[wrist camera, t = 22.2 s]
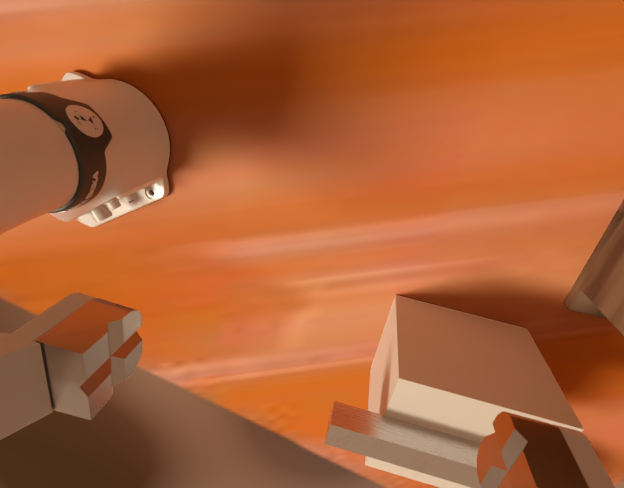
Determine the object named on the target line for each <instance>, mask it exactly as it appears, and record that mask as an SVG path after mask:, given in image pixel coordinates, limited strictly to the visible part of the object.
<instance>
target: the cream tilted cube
mask: <svg viewBox="0 0 624 488" xmlns="http://www.w3.org/2000/svg"><path fill="white" fill-rule="evenodd" d="M368 411H371V412H374V413H378V414H381V415H384V416H388V417H391V418H395V419H398V420H402V421H405V422H409V423H412V424H416V425H419V426H423V427H426V428H430V429H433V430H437V431H440V432H443V433H447V434H450V435H454V436H457V437H461V438H464V439H468V440H471V441H475V442H478V443H481V442H482V441H483V439H484V437H486V436H488V435H490V434H493V433H495V430H494V427H493V421H494V420H495V418H496V416H497V415H498V414H499V413H501V412H502V411H504V412H508V413H512V414H516V415H519V416H523V417H527V418H531V419H534V420H538V421H542V422H545V423H549V424H551V425H558V426H562V427H566V428H569V429H573V430H577V431H580V432H581V433H582V431H583V430H584V429H583V427H582V425H581V423H580V422H579V420H578V418H577V416H576V415H575V413H574V411H573V409H572V407H571V406H570V404H569V402H568V400H567V399H566V397H565V395H564V393H563V392H562V390H561V388H560V386H559V384H558V383H557V381H556V379H555V377H554V376H553V374H552V372H551V370H550V368H549V367H548V365H547V363H546V361H545V360H544V358H543V356H542V354H541V352H540V351H539V349H538V347H537V345H536V344H535V342H534V340H533V338H532V336H531V335H530V333H529V331H528V329H527V328H524V327H520V326H516V325H512V324H508V323H504V322H500V321H497V320H493V319H489V318H485V317H481V316H477V315H473V314H469V313H465V312H461V311H458V310H454V309H450V308H446V307H442V306H438V305H434V304H430V303H426V302H422V301H419V300H415V299H411V298H407V297H403V296H399V295H395V298H394V301H393V304H392V307H391V310H390V312H389V315H388V318H387V321H386V324H385V327H384V330H383V333H382V336H381V339H380V342H379V345H378V348H377V351H376V354H375V357H374V360H373V363H372V366H371V370H370V387H369V405H368ZM365 465H367V466H370V467H373V468H377V469H380V470H383V471H387V472H390V473H393V474H397V475H400V476H403V477H407V478H410V479H413V480H416V481H420V482H423V483H426V484H430V485H433V486H436V487H440V488H471V487H468V486H464V485H461V484H458V483H454V482H451V481H448V480H444V479H441V478H438V477H434V476H431V475H428V474H424V473H421V472H418V471H414V470H411V469H408V468H404V467H401V466H398V465H394V464H391V463H388V462H384V461H381V460H378V459H374V458H371V457H368V456H366V458H365Z"/></svg>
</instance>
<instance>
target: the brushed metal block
mask: <svg viewBox="0 0 624 488" xmlns="http://www.w3.org/2000/svg"><path fill="white" fill-rule="evenodd" d="M325 444H328V445H331V446H334V447H338V448H341V449H344V450H348V451H351V452H354V453H358V454H361V455H364V456H368V457H371V458H374V459H378V460H381V461H384V462H388V463H391V464H394V465H398V466H401V467H404V468H408V469H411V470H414V471H418V472H421V473H424V474H428V475H431V476H434V477H438V478H441V479H444V480H448V481H451V482H454V483H458V484H461V485H464V486H468V487H471V488H482V487H481V486H480V483H479V479H478V474H477V455H478V449H479V446H480V444H481V443H478V442H475V441H471V440H468V439H464V438H461V437H457V436H454V435H450V434H447V433H443V432H440V431H437V430H433V429H430V428H426V427H423V426H419V425H416V424H412V423H409V422H405V421H402V420H398V419H395V418H391V417H388V416H384V415H381V414H378V413H374V412H371V411H367V410H364V409H360V408H357V407H353V406H350V405H346V404H343V403H339V402H336V401H334V405H333V408H332V411H331V415H330V418H329V422H328V428H327V434H326V440H325Z"/></svg>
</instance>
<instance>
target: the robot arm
mask: <svg viewBox="0 0 624 488" xmlns="http://www.w3.org/2000/svg"><path fill="white" fill-rule="evenodd" d="M169 156H170V142H169V136H168V132H167V129H166V126H165V123H164V121H163V119H162V117H161V115H160V113H159V112H158V110H157V109H156V107H155V106H154V105H153V103H152V102H151V101H150V100H149V99H148V98H147V97H146V96H145V95H144V94H143V93H142V92H140V91H139V90H138V89H136V88H135V87H133V86H131V85H129V84H127V83H125V82H122V81H119V80H114V79H93V78H91V77H89V76H86V75H84V74H82V73H79V72H68V73H66V74H65V75H64V77H63V78H62V80H61V81H57V82H48V83H40V84H34V85H31V86H29V87H28V91H21V92H12V93H10V94H2V95H0V234H2V233H4V232H6V231H8V230H11V229H13V228H15V227H17V226H19V225H21V224H23V223H25V222H28V221H30V220H32V219H34V218H37V217H39V216H41V215H44V214H46V213H49V214H51V215H52V216H54V217H55V218H57V219H59V220H62V221H65V222H70V221H72V220H74V219H77V220H78V221H80V222H82V223H83V224H85V225H87V226H90V227H96V226H98V225H101V224H104V223H106V222H108V221H111V220H113V219H115V218H118V217H120V216H122V215H125V214H127V213H129V212H132V211H134V210H136V209H138V208H141V207H143V206H145V205H148V204H150V203H152V202H155V201H157V200H159V199H162V198H164V197H166V196H167V195H168V193H169V183H168V178H167V167H168V162H169ZM152 191H153V192H154V194H153V193H152ZM141 325H142V319H141V313H140V312H139V311H137V310H135V309H132V308H129V307H125V306H122V305H119V304H116V303H112V302H109V301H106V300H102V299H99V298H94V297H91V296H88V295H84V294H81V293H74V294H70V295H68V296H67V297H65V298H64V299H62V300H61V301H59V302H58V303H56V304H55V305H53V306H52V307H50V308H49V309H47V310H46V311H44V312H43V313H41V314H40V315H38V316H37V317H35V318H34V319H32V320H31V321H30V322H28V323H26V324H25V325H23V326H22V327H20V328H19V329H17V330H16V331H14V332H13V333H11V334H6V333H0V440H1V439H3V438H5V437H7V436H9V435H10V434H12V433H14V432H16V431H18V430H20V429H22V428H24V427H25V426H27V425H29V424H31V423H33V422H35V421H37V420H39V419H41V418H43V417H44V416H46V415H48V414H50V413H52V410H55V411H59V412H63V413H66V414H70V415H74V416H77V417H81V418H85V419H89V420H91V419H92V418H93V417H94V416H95V415H96V414H97V412H98V411H99V410H100V409H101V408H102V407H103V406H104V404H105V403H106V402H107V401H108V400H109V399H110V398H111V396H112V395H113V385H116V384H118V383H120V382H122V381H125V380H126V379H127V378H128V377H129V376H130V375H131V373H132V372H133V371H134V369H135V367H136V365H137V363H138V362H139V360H140V357H141V352H142V339H141V337H140V336H139V334H138V333H137V331H136V330H137V329H138V328H139V327H140V326H141ZM493 427H494V430H495V433H493V434H490V435H488V436H486V437H484V439H483V441H482V442H481V444H480V446H479V449H478V455H477V474H478V479H479V483H480V486H481V487H482V488H615V486H614V485H613V483H612V481H611V479H610V478H609V476H608V474H607V472H606V471H605V469H604V467H603V465H602V463H601V462H600V460H599V458H598V456H597V455H596V453H595V451H594V449H593V448H592V446H591V444H590V442H589V441H588V439H587V437H586V436H585V435H583V434H582V433H581V432H580V431H577V430H573V429H569V428H566V427H562V426H558V425H551V424H549V423H545V422H542V421H538V420H534V419H531V418H527V417H523V416H519V415H516V414H512V413H508V412H504V411H502V412H501V413H499V414H498V415H497V416H496V418H495V420H494V421H493Z"/></svg>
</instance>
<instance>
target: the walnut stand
mask: <svg viewBox="0 0 624 488" xmlns="http://www.w3.org/2000/svg"><path fill="white" fill-rule="evenodd" d="M564 304H565V306H566V307H567V308H568V309H569V310H573V311H577V312H581V313H585V314H589V315H593V316H597V317H601V318H605V319H608V320H609V321H610V322H611V323H612V324H613V325H614V326H615V327H616V329H617V330H618V331H619V332H620V333H621V334H622V335H623V336H624V200H623V202H622V204H621V205H620V207H619V209H618V211H617V212H616V214H615V216H614V217H613V219H612V221H611V223H610V224H609V226H608V228H607V229H606V231H605V233H604V234H603V236H602V238H601V240H600V241H599V243H598V245H597V246H596V248H595V250H594V252H593V253H592V255H591V257H590V258H589V260H588V262H587V264H586V265H585V267H584V269H583V270H582V272H581V274H580V275H579V277H578V279H577V281H576V282H575V284H574V286H573V287H572V289H571V291H570V293H569V294H568V296H567V298H566V299H565V301H564Z"/></svg>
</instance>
